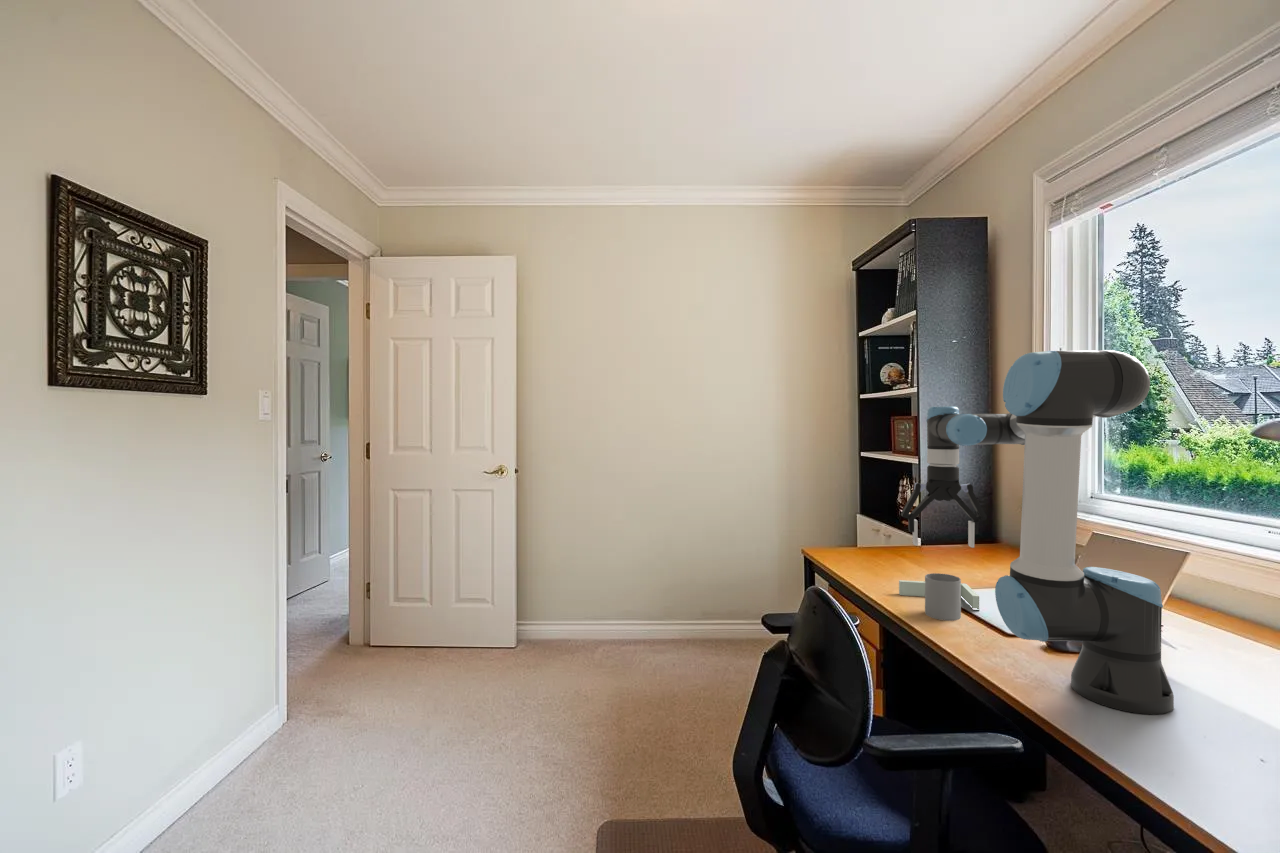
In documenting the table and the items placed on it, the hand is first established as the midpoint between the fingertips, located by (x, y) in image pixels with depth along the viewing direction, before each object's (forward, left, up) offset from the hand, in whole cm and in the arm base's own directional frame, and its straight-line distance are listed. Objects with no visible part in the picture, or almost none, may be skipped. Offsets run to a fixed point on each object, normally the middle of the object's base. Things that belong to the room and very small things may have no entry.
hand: (942, 545), depth 159 cm
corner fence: (+11, -1, -18) cm, 22 cm away
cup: (0, 0, -19) cm, 19 cm away
